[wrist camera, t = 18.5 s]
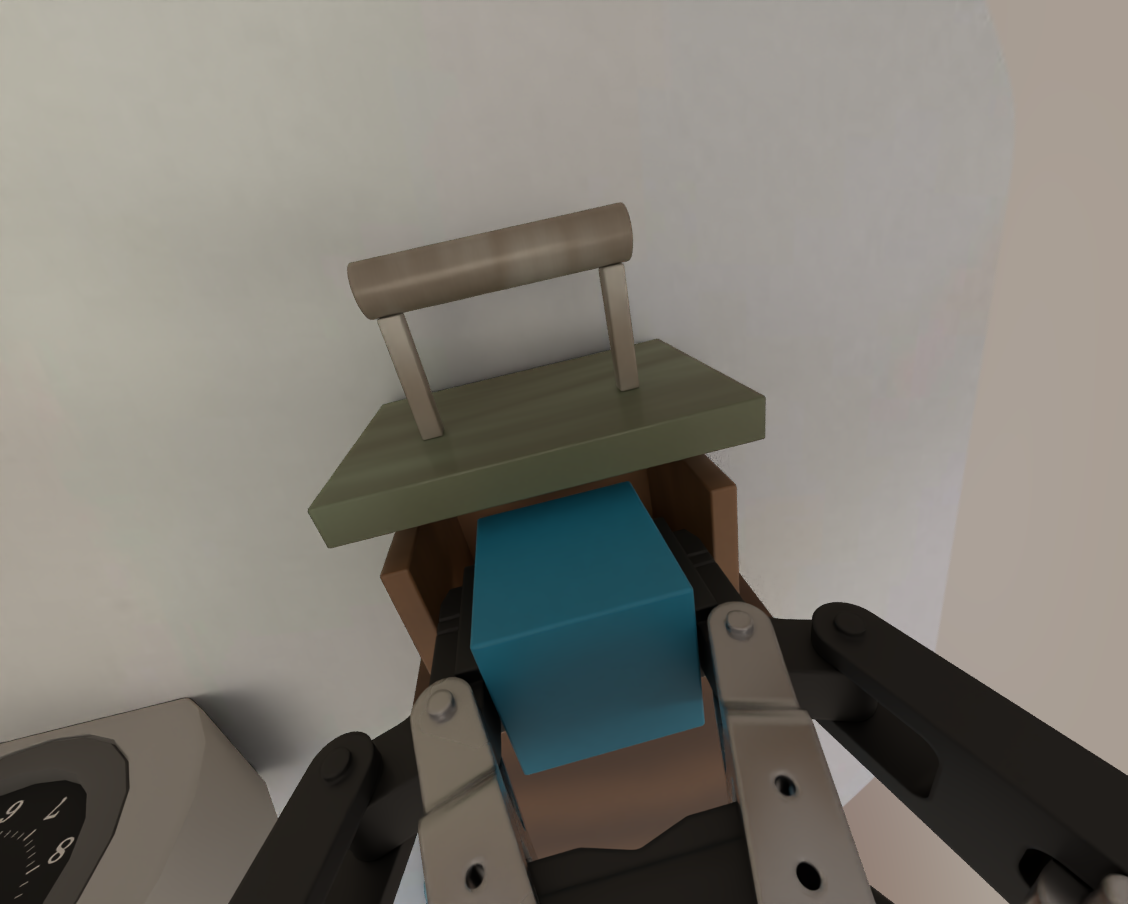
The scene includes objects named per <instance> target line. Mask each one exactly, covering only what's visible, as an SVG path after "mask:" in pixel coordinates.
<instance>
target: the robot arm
mask: <svg viewBox="0 0 1128 904" xmlns="http://www.w3.org/2000/svg"><path fill="white" fill-rule="evenodd" d="M652 520H653V522H654V523H655V525H656V527H657V528H658V530H659V532H660V533H661V535H662V537H663V539H664V540H665V542H666V544H667V545H668V547H669V549H670V550H671V552H672V554H673V555H674V557H675V559H676V561H677V562H678V564H679V566H680V567H681V569H682V571H683V572H684V574H685V576H686V577H687V579H688V581H689V583H690V584H691V586H692V588H693V593H694V604H695V616H696V627H697V639H698V650H699V661H700V673H701V677H705V676H706V678H707V680H708V682H709V684H710V686H711V688H712V693H713V704H714V710H715V717H716V723H717V730H718V736H719V743H720V749H721V755H722V762H723V768H724V775H725V782H726V789H727V798H728V804H726V805H722V806H719V807H716V808H712V809H709V810H705V811H702V812H698V813H695V814H692V815H688V816H686V817H684V818H683V819H682V820H680V821H679V822H677V823H676V824H674V825H673V826H672V827H670V828H669V829H667V830H666V831H664V832H663V833H662V834H660V835H659V836H657V837H656V838H654V839H653V840H652V841H650V842H649V843H647V844H646V845H644V846H643V847H641V848H639V849H635V850H626V849H605V848H584V847H579V848H576V849H572V850H569V851H565V852H562V853H558V854H555V855H552V856H548V857H545V858H541V859H538V857H537V855H536V852H535V850H534V847H533V844H532V842H531V839H530V836H529V833H528V830H527V827H526V824H525V821H524V818H523V816H522V813H521V810H520V807H519V804H518V801H517V798H516V795H515V792H514V789H513V786H512V783H511V780H510V777H509V774H508V771H507V768H506V765H505V762H504V759H503V757H502V755H501V732H504V731H506V730H505V728H504V726H503V724H502V721H501V719H500V717H499V714H498V712H497V710H496V707H495V705H494V703H493V700H492V698H491V696H490V693H489V691H488V689H487V686H486V684H485V682H484V679H483V677H482V675H481V672H480V670H479V668H478V665H477V663H476V661H475V658H474V656H473V654H472V651H471V649H470V642H471V624H472V607H473V589H474V572H475V564H474V565H470V566H467V567H465V568H464V573H463V584H462V586H461V587H457V588H453V589H450V590H449V592H448V593H447V595H446V597H445V598H444V600H443V602H442V603H441V606H440V613H439V623H438V627H437V636H436V641H435V648H434V654H433V661H432V668H431V675H430V682H429V687H428V688H426V689H425V690H424V691H423V692H422V693H421V695H420V696H419V697H418V699H417V700H416V702H415V704H414V706H413V708H412V711H411V715H410V716H409V717H408V718H407V719H406V720H404V721H403V722H401V723H400V724H398V725H397V726H395V727H393V728H392V729H390V730H388V731H387V732H385V733H383V734H382V735H380V736H378V737H376V738H375V739H373V740H371V739H370V737H369V736H368V735H367V734H365V733H363V732H358V731H356V732H349V733H346V734H343V735H341V736H339V737H337V738H335V739H334V740H333V741H331V742H330V743H328V744H327V745H326V746H325V747H324V748H323V749H322V750H321V751H320V752H319V753H318V754H317V755H316V757H315V758H314V759H313V761H312V762H311V764H310V765H309V767H308V769H307V770H306V772H305V774H304V775H303V777H302V779H301V780H300V782H299V784H298V786H297V787H296V789H295V791H294V792H293V794H292V796H291V797H290V799H289V801H288V803H287V804H286V806H285V808H284V809H283V811H282V813H281V815H280V816H279V818H278V820H277V821H276V823H275V825H274V826H273V828H272V830H271V832H270V833H269V835H268V837H267V838H266V840H265V842H264V844H263V845H262V847H261V849H260V850H259V852H258V854H257V855H256V857H255V859H254V861H253V862H252V864H251V866H250V867H249V869H248V871H247V872H246V874H245V876H244V878H243V879H242V881H241V883H240V884H239V886H238V888H237V890H236V891H235V893H234V895H233V896H232V898H231V900H230V901H229V903H228V904H393V902H394V899H395V897H396V894H397V891H398V888H399V885H400V882H401V879H402V876H403V873H404V871H405V868H406V865H407V862H408V859H409V856H410V853H411V850H412V847H413V845H414V842H415V839H416V836H417V833H418V835H419V844H420V851H421V858H422V865H423V873H424V880H425V887H426V894H427V902H428V904H894V903H893V902H892V901H890V900H889V899H888V898H886V897H885V896H884V895H882V894H881V893H880V892H878V891H877V890H876V889H875V888H873V887H872V886H870V885H869V883H868V880H867V877H866V874H865V871H864V868H863V865H862V863H861V860H860V857H859V854H858V851H857V848H856V845H855V842H854V839H853V837H852V834H851V831H850V828H849V825H848V822H847V819H846V816H845V813H844V810H843V808H842V805H841V802H840V799H839V796H838V793H837V790H836V787H835V784H834V782H833V779H832V776H831V773H830V770H829V767H828V764H827V761H826V758H825V756H824V753H823V750H822V747H821V744H820V741H819V738H818V735H817V732H816V729H815V727H814V724H813V721H812V719H815V720H816V721H817V722H818V723H819V724H820V725H821V726H822V727H823V728H824V729H825V730H826V731H827V732H829V733H830V734H831V735H832V736H833V737H834V738H835V739H836V740H837V741H838V742H839V743H840V744H841V745H842V746H843V747H844V748H845V749H847V750H848V751H849V752H850V753H851V754H852V755H853V756H854V757H855V758H856V759H857V760H858V761H859V762H860V763H861V764H862V765H863V766H864V767H866V768H867V769H868V770H869V771H870V772H871V773H872V774H873V775H874V776H875V777H876V778H877V779H878V780H879V781H881V782H882V784H884V785H885V786H886V787H887V788H888V789H889V790H890V791H891V792H892V793H893V794H894V795H895V796H896V797H897V798H898V799H899V800H900V801H902V802H903V803H904V804H905V805H906V806H907V807H908V808H909V809H910V810H911V811H912V812H913V813H914V814H915V815H917V817H919V818H920V819H921V820H922V821H923V822H924V823H925V824H926V825H927V826H928V827H929V828H930V829H931V830H932V831H933V832H934V833H935V834H937V835H938V836H939V837H940V838H941V839H942V840H943V841H944V842H945V843H946V844H947V845H948V846H949V847H950V848H951V849H952V850H953V851H954V852H955V853H957V854H958V855H959V856H960V857H961V858H962V859H963V860H964V861H965V862H966V863H967V864H968V865H970V867H971V868H972V869H974V870H975V871H976V872H977V873H978V874H979V875H980V876H981V877H982V878H983V879H984V880H985V881H986V882H987V883H988V884H989V885H990V886H991V887H993V888H994V889H995V890H996V891H997V892H998V893H999V894H1000V895H1001V896H1002V897H1003V898H1004V899H1005V900H1006V901H1007V902H1008V903H1009V904H1128V775H1126V774H1124V773H1123V772H1121V771H1120V770H1118V769H1117V768H1115V767H1113V766H1112V765H1110V764H1109V763H1107V762H1106V761H1104V760H1102V759H1101V758H1099V757H1098V756H1096V755H1095V754H1093V753H1091V752H1090V751H1088V750H1087V749H1085V748H1083V747H1082V746H1080V745H1079V744H1077V743H1076V742H1074V741H1072V740H1071V739H1069V738H1068V737H1066V736H1065V735H1063V734H1062V733H1060V732H1058V731H1057V730H1055V729H1054V728H1052V727H1051V726H1049V725H1047V724H1046V723H1044V722H1042V721H1041V720H1039V719H1038V718H1036V717H1035V716H1033V715H1032V714H1030V713H1029V712H1027V711H1025V710H1024V709H1022V708H1021V707H1019V706H1018V705H1016V704H1014V703H1013V702H1011V701H1010V700H1008V699H1007V698H1005V697H1003V696H1002V695H1000V694H999V693H997V692H996V691H994V690H992V689H991V688H989V687H988V686H986V685H985V684H983V683H981V682H980V681H978V680H977V679H975V678H973V677H972V676H970V675H969V674H967V673H965V672H964V671H963V670H961V669H959V668H958V667H956V666H955V665H953V664H952V663H950V662H948V661H947V660H945V659H944V658H942V657H941V656H939V655H937V654H936V653H934V652H933V651H931V650H930V649H928V648H926V647H925V646H923V645H922V644H920V643H919V642H917V641H915V640H914V639H912V638H911V637H909V636H908V635H906V634H904V633H903V632H901V631H900V630H898V629H897V628H895V627H893V626H892V625H890V624H889V623H887V622H886V621H884V620H882V619H881V618H879V617H878V616H876V615H875V614H873V613H871V612H870V611H868V610H866V609H864V608H862V607H860V606H857V605H853V604H849V603H842V602H833V603H827V604H824V605H822V606H820V607H819V608H817V609H816V610H815V612H814V613H813V616H812V620H797V619H778V618H772V617H769V616H767V615H766V614H765V613H764V612H763V611H762V610H760V609H759V608H757V607H755V606H753V605H751V604H748V603H746V602H745V601H744V600H743V599H742V597H741V596H740V595H739V593H738V592H737V590H736V589H735V588H734V586H733V585H732V583H731V582H730V581H729V579H728V578H727V576H726V575H725V574H724V572H723V571H722V569H721V568H720V567H719V565H718V564H717V562H715V560H714V558H713V557H712V555H711V554H710V553H709V552H708V550H707V548H706V547H705V546H704V544H703V543H702V541H701V540H700V539H699V537H697V536H695V535H694V534H692V533H691V532H689V531H687V530H686V529H681V530H678V531H674V532H672V530H671V529H670V527H669V526H668V524H667V522H666V521H665V519H664V518H663V517H658V518H654V519H652Z"/></svg>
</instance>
